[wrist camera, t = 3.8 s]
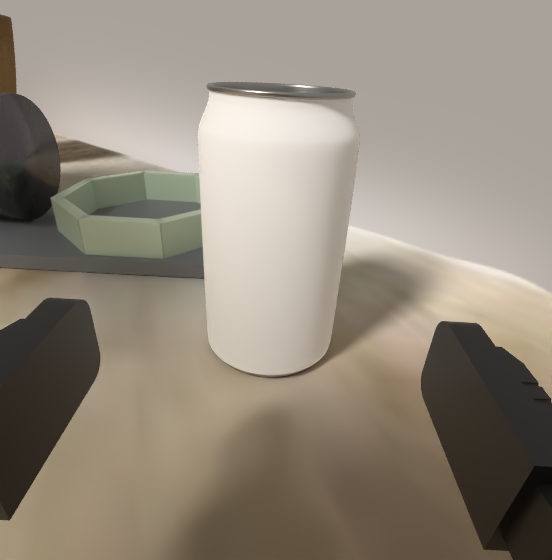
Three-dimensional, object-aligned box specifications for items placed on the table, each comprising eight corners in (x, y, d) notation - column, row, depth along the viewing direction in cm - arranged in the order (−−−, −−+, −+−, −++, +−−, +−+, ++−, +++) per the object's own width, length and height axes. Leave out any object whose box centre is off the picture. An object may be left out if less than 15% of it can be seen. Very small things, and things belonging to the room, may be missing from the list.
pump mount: (-131, 260, 26) (-158, 210, 24) (3, 196, 38) (-8, 160, 36) (228, 279, 26) (227, 230, 24) (247, 210, 38) (247, 174, 36)
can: (234, 296, 24) (233, 79, 18) (338, 317, 23) (373, 89, 17) (185, 363, 18) (159, 84, 13) (317, 396, 17) (358, 99, 11)
